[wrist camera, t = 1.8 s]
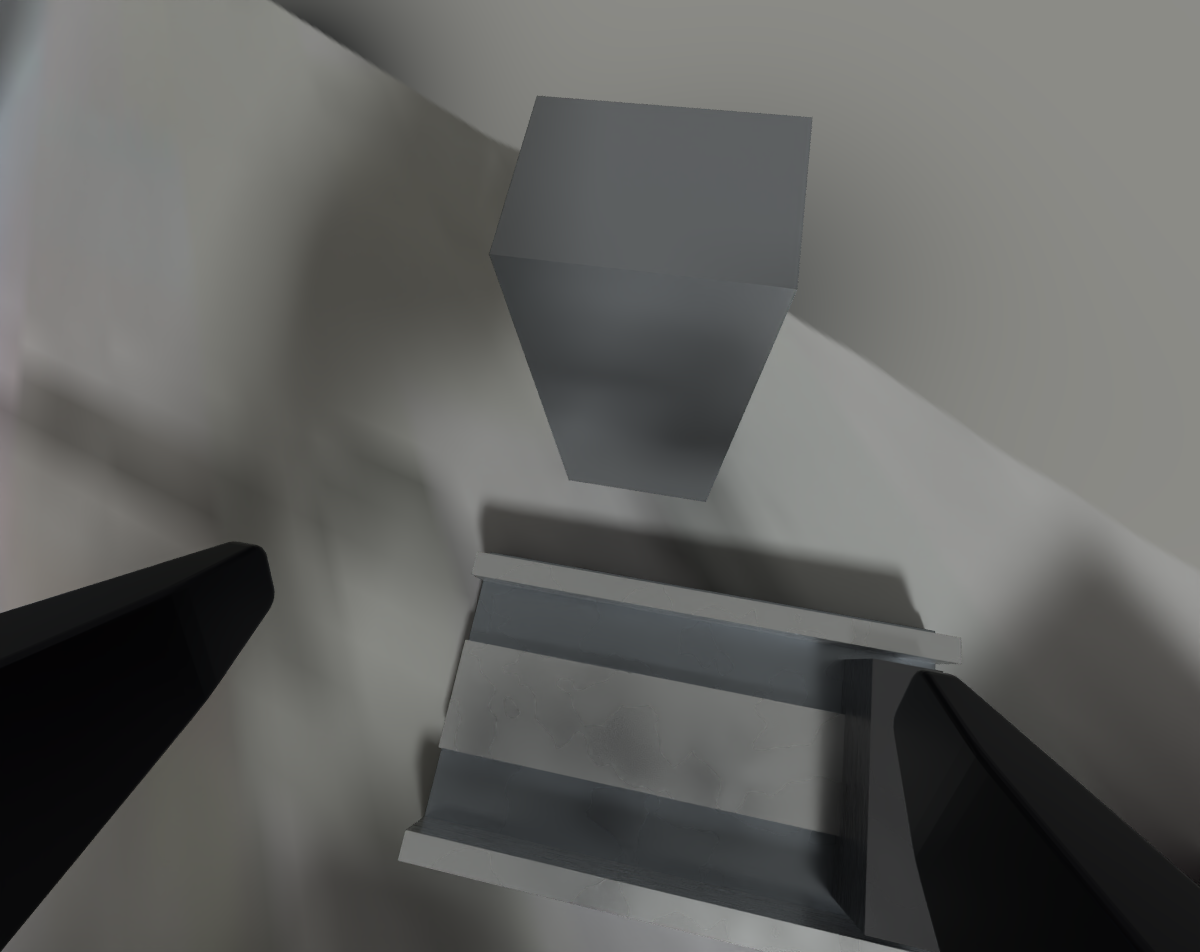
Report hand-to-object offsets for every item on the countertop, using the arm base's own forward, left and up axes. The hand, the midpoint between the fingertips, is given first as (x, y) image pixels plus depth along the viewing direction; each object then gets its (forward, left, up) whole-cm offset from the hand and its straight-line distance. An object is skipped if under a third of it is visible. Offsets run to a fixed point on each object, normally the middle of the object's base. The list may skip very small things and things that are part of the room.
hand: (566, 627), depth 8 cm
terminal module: (+4, +7, -13) cm, 16 cm away
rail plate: (+1, -4, -13) cm, 14 cm away
